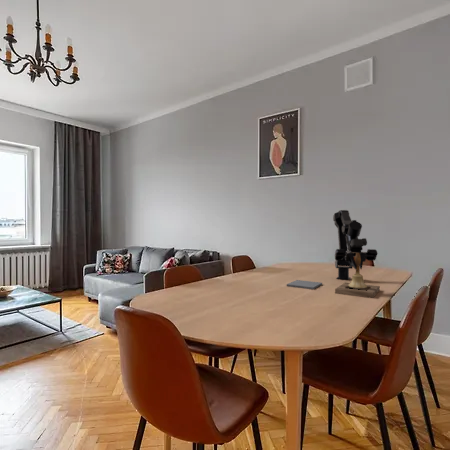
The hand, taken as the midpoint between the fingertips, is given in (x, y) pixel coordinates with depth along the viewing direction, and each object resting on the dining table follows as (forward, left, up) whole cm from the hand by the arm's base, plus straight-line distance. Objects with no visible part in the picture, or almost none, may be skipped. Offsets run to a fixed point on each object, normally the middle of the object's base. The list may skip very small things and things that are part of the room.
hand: (358, 268), depth 146 cm
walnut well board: (-1, -1, -11) cm, 11 cm away
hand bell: (-1, -1, -9) cm, 9 cm away
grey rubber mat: (-1, -27, -11) cm, 29 cm away
